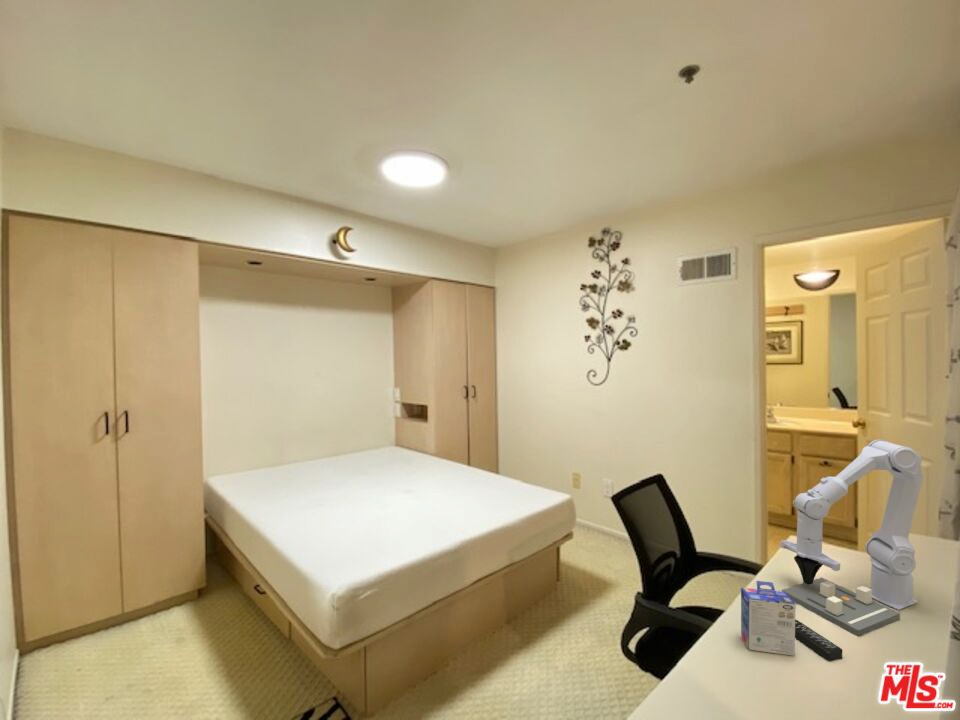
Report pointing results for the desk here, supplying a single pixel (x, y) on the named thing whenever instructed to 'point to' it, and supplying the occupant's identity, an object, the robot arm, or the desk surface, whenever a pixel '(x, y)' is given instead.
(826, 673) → the desk surface
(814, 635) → the multiport hub
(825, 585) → the block
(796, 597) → the panel
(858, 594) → the breaker handle
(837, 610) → the block
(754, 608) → the ink cartridge box
